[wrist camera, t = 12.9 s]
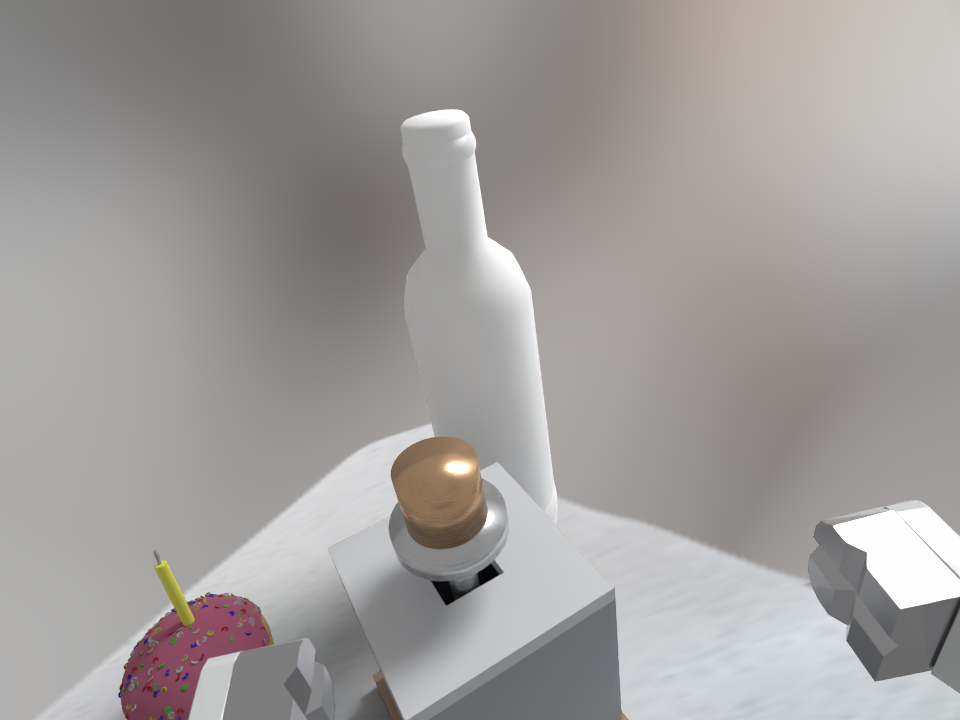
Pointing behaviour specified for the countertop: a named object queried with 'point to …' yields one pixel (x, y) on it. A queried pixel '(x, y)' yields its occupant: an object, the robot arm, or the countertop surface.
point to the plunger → (446, 514)
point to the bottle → (472, 314)
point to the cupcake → (186, 649)
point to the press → (490, 626)
